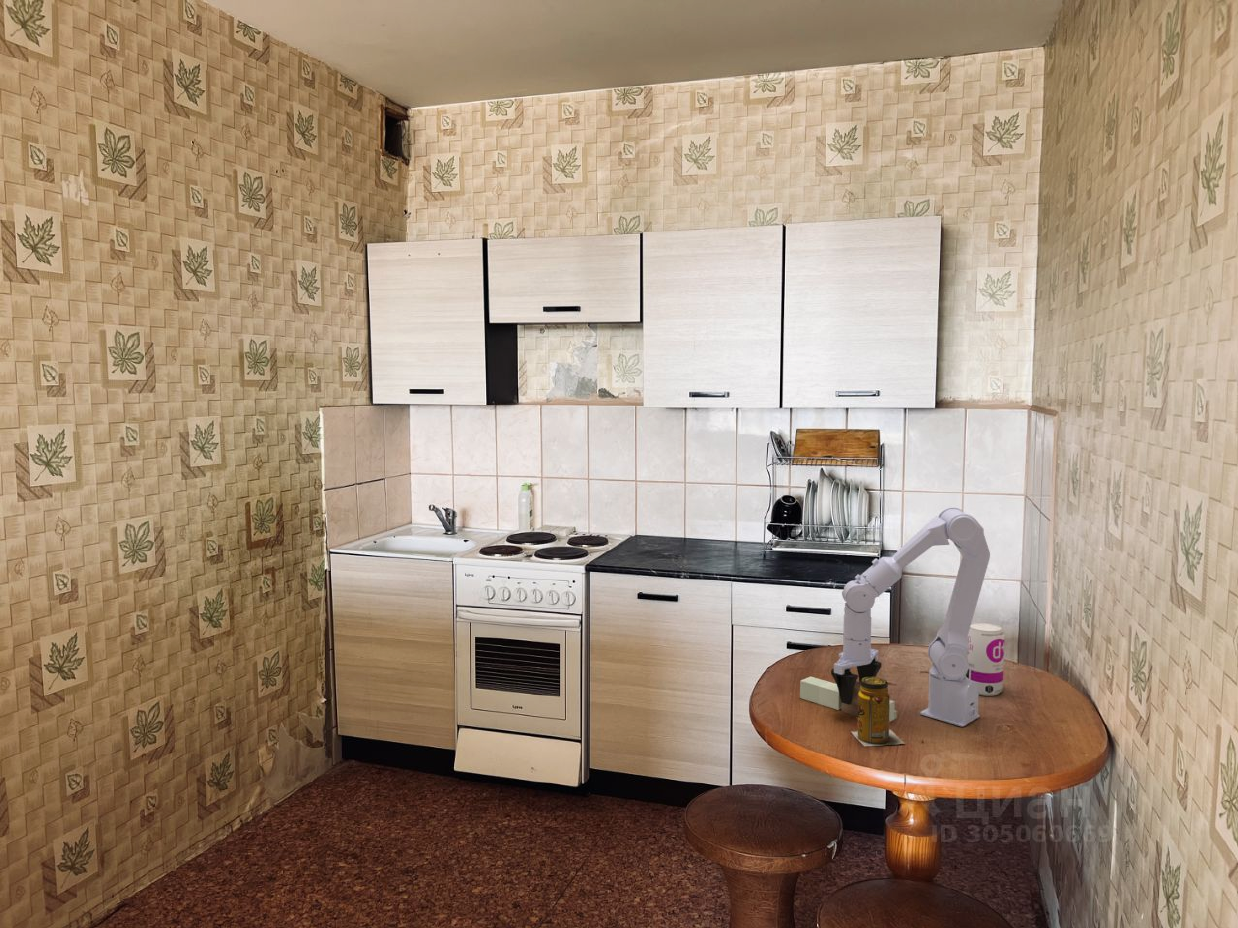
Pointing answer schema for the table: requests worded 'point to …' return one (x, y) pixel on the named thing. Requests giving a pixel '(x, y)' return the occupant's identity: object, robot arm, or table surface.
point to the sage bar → (829, 694)
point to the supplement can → (986, 657)
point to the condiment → (874, 714)
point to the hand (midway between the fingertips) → (855, 698)
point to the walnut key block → (853, 701)
